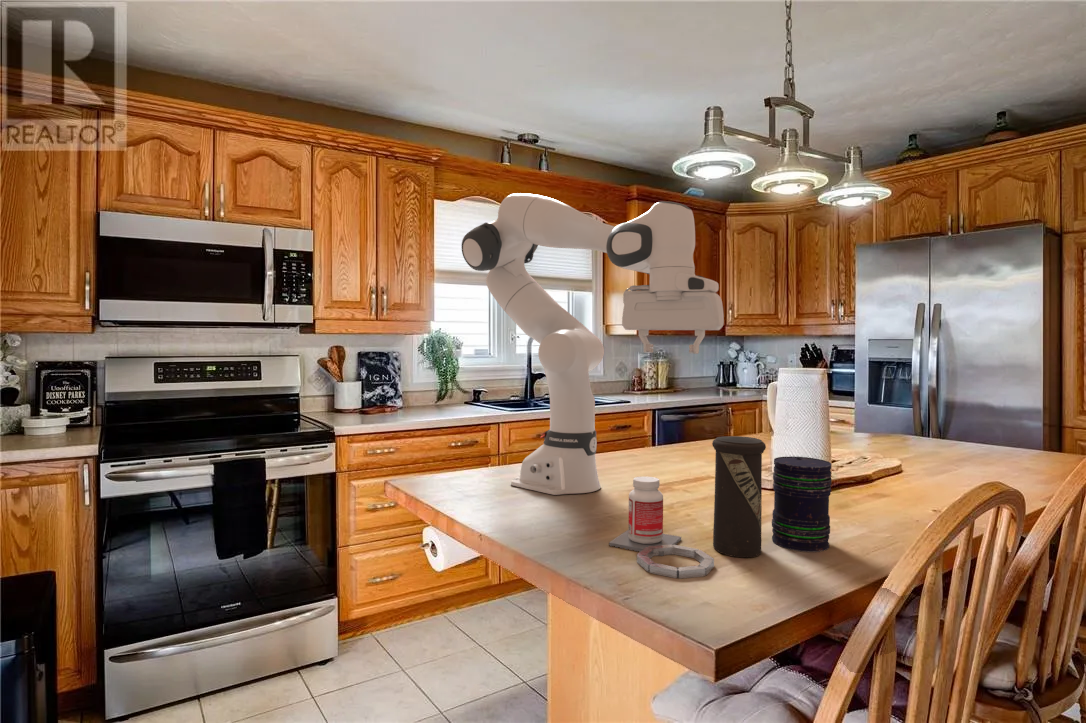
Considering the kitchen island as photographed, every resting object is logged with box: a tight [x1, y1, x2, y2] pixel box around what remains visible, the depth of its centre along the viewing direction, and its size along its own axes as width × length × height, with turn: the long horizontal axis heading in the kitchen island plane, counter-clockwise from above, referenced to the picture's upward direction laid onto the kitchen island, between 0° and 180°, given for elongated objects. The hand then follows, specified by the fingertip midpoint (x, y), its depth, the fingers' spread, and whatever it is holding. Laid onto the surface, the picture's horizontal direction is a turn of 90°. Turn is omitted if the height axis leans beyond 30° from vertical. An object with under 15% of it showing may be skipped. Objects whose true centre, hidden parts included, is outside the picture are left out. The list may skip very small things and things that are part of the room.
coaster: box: [608, 528, 682, 557], centre depth 113 cm, size 10×10×1 cm
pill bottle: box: [628, 476, 664, 544], centre depth 113 cm, size 6×6×11 cm
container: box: [711, 435, 767, 558], centre depth 109 cm, size 9×9×20 cm
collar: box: [636, 544, 715, 579], centre depth 102 cm, size 12×12×1 cm
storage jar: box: [771, 456, 832, 553], centre depth 113 cm, size 10×10×15 cm
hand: (670, 353), depth 125 cm, fingers open, 8 cm apart
